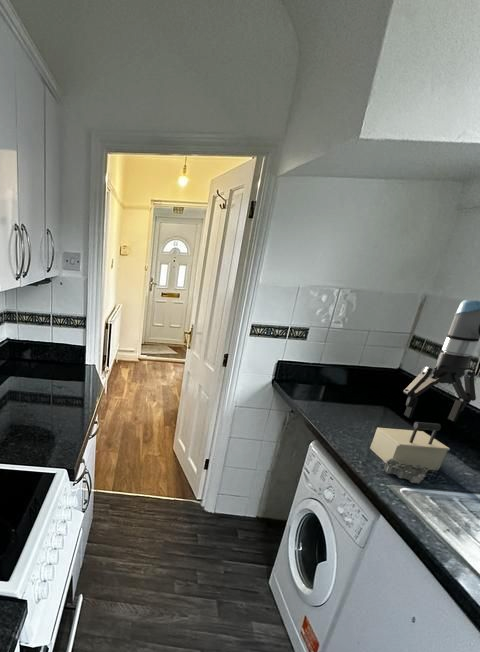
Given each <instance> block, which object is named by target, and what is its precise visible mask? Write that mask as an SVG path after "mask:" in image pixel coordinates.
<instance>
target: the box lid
mask: <svg viewBox="0 0 480 652" xmlns="http://www.w3.org/2000/svg"><path fill="white" fill-rule="evenodd" d="M441 429H442V425H441V424H440V423H434V422H433V423H432V422H423V421H422V422H420V421H415V422H414V423H413V430H411V429H399V428H387V427H376V430H378V431H379V432H381V433H382V434H383V435H385V436H386V437H387V438H389V439H390V440H391V441H393V442H394V443H395V444H397V445H398V446H401V447H412V448H424V449H435V450H446V451H447V452H449V451H450V450H451V448H450V447H448V446H446V445H445V444H444V443H442V442H440V441H439V440H438V439H436V438H435V437H436V435H437V432H438V431H441ZM425 430H426V431H432V433H431V435H430V434H428V433H426V432H425Z"/></svg>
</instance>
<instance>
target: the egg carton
mask: <svg viewBox="0 0 480 652" xmlns="http://www.w3.org/2000/svg"><path fill="white" fill-rule="evenodd" d="M383 471H384V472H385V473H386V474H387V475H388V474H389V475H395V476H397V478H399V479H405V480H408V481H409V482H410V483H411V484H421V482H422V481H424V479H425V477H427V472H428V471H429V470H428V468H426V467H424V466H420V465H417V466H414V465H412V464H411V465H409V464H406V463H403V462H398V461H395V460H393V459H390V460H387V463H385V464H384V468H383Z"/></svg>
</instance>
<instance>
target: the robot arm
mask: <svg viewBox="0 0 480 652" xmlns="http://www.w3.org/2000/svg"><path fill="white" fill-rule="evenodd" d="M479 341H480V299H464V300H462V301H461V302H460V304H459V306H458V308H457V310H456V312H455V313H454V317H453V319H452V322H451V325H450V328H449V330H448V333H447V335H446V337H445V340H444V342H443V345H442V347H441V350H442V351H441V352H439V354H438V357H437V360H436V365H435V367H430V366H427V365H425V366H423V368H422V369H421V372H420V373H419V374H418V375H417V376H416V377H415V378H414V379H413V380H412V382H410V383H409V385H408V386H407V387H406V388H405V389H403V391H402V392H403V394H405V395H406V396H407V399H406V401H405V402H406V403H405V406H406V408H405V411H404V413H403V415H404V416H405V417H407V418H409V419H412V417H413V414H414V411H415V409H416V406H417V404H418V401H419V398H418V397H419V396H421V394H423V393H425V392H427V391H428V390H429V389H430V388H432V387H433V386H435V385H438V384H439V383H440V384H448V385H452V387H453V388H454V391H455V393H456V396H457V398H458V399H455V400H454V403H453V405H452V408H451V410H450V412H449V414H448V417H447V419H448V420H450V421H452V422H454V423H455V422H457V420H458V418H459V416H460V413H461V412H463V411H464V410H465V407H466V405H467V404H470V403H471V401H473V402H474V401H476V400H477V395H476V386H475V376H476V371H474V370H471V369H468V366H469V364H470V362H471V360H472V355H473V354H474V353H475V350H476V348H477V346H478V343H479ZM462 377H463V381H464V386H463V382H462V380H461V378H462Z"/></svg>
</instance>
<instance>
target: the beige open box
mask: <svg viewBox="0 0 480 652" xmlns="http://www.w3.org/2000/svg"><path fill="white" fill-rule="evenodd" d="M369 449H370V450H371V451H372V452H373V453H374V454H375V455H376V456H378V457H379V459H381V460H382V461H383V462H384V463H385V464H386V463H387V460H390V459H393V460H395V461H398V462H403V463H406V464H409V465H411V464H412V465H414V466H417V465H420V466H424V467H426V468H428V471H439V470H440V468H441V466H442V463H443V461H444V459H445V456H446V454H447V452H448V451H446V450H435V449H424V448H412V447H401V446H398V445H397V444H395V443H394V442H393V441H391V440H390V439H389V438H387V437H386V436H385V435H383V434H382V433H381V432H379V431H378V430H377V429H375V433H374V436H373V439H372V441H371V444H370V446H369Z"/></svg>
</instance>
